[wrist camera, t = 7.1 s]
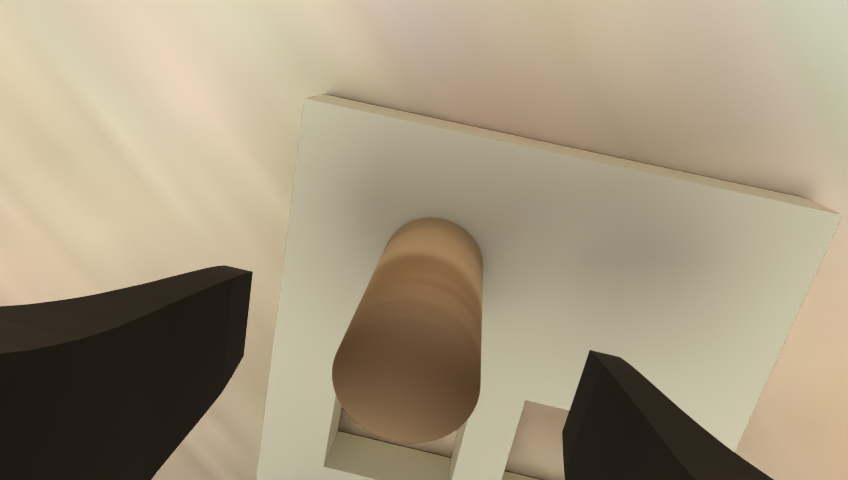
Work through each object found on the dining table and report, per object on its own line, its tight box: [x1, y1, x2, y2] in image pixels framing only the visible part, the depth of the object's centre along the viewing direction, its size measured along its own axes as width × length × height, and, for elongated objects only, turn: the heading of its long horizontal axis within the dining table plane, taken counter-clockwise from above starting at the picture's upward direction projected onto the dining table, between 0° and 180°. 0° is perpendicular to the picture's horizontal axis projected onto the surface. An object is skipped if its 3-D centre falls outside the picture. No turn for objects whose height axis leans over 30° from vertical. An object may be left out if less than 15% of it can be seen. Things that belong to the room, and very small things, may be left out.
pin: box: [332, 218, 483, 443], centre depth 14 cm, size 3×3×6 cm
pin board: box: [256, 94, 842, 480], centre depth 18 cm, size 20×15×5 cm
